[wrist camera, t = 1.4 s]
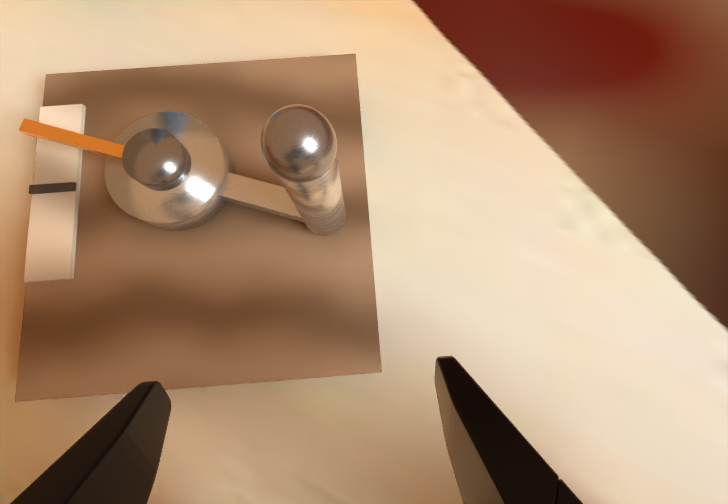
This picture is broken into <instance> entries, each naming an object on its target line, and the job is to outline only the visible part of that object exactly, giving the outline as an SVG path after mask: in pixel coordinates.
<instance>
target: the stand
mask: <svg viewBox="0 0 728 504" xmlns="http://www.w3.org/2000/svg"><path fill="white" fill-rule="evenodd" d="M294 104H300V105H307V106H310V107H312V108H314V109H316V110H318V111H319V112H321V113H322V114H323V115H324V116H325V117H326V118H327V119H328V120H329V122H330V123H331V125H332V127H333V129H334V131H335V134H336V138H337V153H336V156H337V162H338V168H339V175H340V181H341V187H342V193H343V200H344V206H345V212H346V219H345V222H344V225H343V226H342V228H341V229H340V230H339V231H338V232H336V233H335V234H333V235H329V236H320V235H316V234H314V233H313V232H311V231H310V230H309V229H308V228H307V226H306V224H305V223H304V222H301V221H297V220H293V219H290V218H286V217H282V216H279V215H275V214H271V213H268V212H264V211H260V210H257V209H253V208H249V207H246V206H242V205H238V204H235V203H231V202H227V204H226V205H225V206H224V208H223V209H222V210H221V211H220V212H219V213H218V214H217V215H216V216H215V217H214V218H213V219H211V220H210V221H208V222H207V223H205V224H203V225H201V226H199V227H196V228H193V229H189V230H183V231H169V230H164V229H160V228H157V227H155V226H153V225H150V224H148V223H146V222H144V221H142V220H140V219H138V218H135V217H133V216H131V215H130V214H128V213H126V212H125V211H123V210H122V209H121V208H120V207H119V206H118V205H117V204H116V203H115V202H114V200H113V199H112V197H111V195H110V194H109V192H108V189H107V186H106V182H105V172H104V171H105V162H106V158H107V156H104V155H101V154H97V153H93V152H90V151H86V150H82V149H78V148H75V147H71V146H67V145H64V144H60V143H56V142H53V141H49V140H45V139H42V138H38V137H37V146H36V156H35V166H34V177H33V185H30V186H29V193H30V194H32V197H31V208H30V218H29V229H28V239H27V249H26V260H25V270H24V280H23V282H26V291H25V301H24V312H23V322H22V333H21V343H20V354H19V364H18V375H17V385H16V396H15V402H18V401H30V400H42V399H55V398H67V397H80V396H92V395H105V394H117V393H129V392H130V391H131V390H133V389H134V388H135V387H136V386H137V385H138V384H140V383H142V382H148V381H158V382H160V383H161V385H162V386H163V388H164V390H167V389H179V388H192V387H204V386H217V385H229V384H242V383H254V382H267V381H279V380H292V379H304V378H316V377H329V376H341V375H354V374H366V373H379V372H382V370H381V358H380V346H379V333H378V321H377V309H376V297H375V285H374V273H373V260H372V248H371V236H370V224H369V212H368V200H367V187H366V175H365V163H364V151H363V139H362V127H361V114H360V102H359V90H358V78H357V66H356V54H345V55H330V56H315V57H300V58H285V59H270V60H255V61H240V62H225V63H210V64H195V65H180V66H165V67H150V68H135V69H120V70H105V71H90V72H75V73H60V74H46V80H45V91H44V101H43V107H40V115H39V123H43V124H46V125H50V126H54V127H58V128H61V129H65V130H69V131H73V132H76V133H80V134H84V135H87V136H91V137H95V138H99V139H102V140H106V141H110V142H114V141H115V139H116V138H117V137H118V135H119V134H120V133H121V132H122V131H123V130H124V129H125V128H126V127H127V126H129V125H130V124H132V123H133V122H135V121H136V120H138V119H140V118H142V117H145V116H147V115H150V114H154V113H158V112H169V111H171V112H180V113H185V114H188V115H191V116H193V117H195V118H198V119H199V120H201V121H202V122H204V123H205V124H206V125H207V126H208V127H209V128H210V129H211V130H212V131H213V132H214V134H215V135H216V136H217V138H218V139H219V140H220V141H221V143H222V144H223V145H224V147H225V148H226V149H227V151H228V152H229V154H230V156H231V158H232V160H233V164H234V169H235V174H237V175H240V176H244V177H248V178H252V179H255V180H259V181H263V182H266V183H270V184H274V185H278V186H281V187H283V185H282V183H281V181H280V180H279V178H278V176H277V175H276V174H275V173H274V172H273V171H272V170H271V169H270V167H269V166H268V165H267V163H266V161H265V159H264V157H263V154H262V151H261V133H262V129H263V127H264V125H265V123H266V121H267V119H268V118H269V117H270V116H271V115H272V114H273V113H274V112H275V111H277V110H278V109H280V108H282V107H285V106H288V105H294Z"/></svg>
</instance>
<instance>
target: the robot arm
mask: <svg viewBox="0 0 728 504" xmlns="http://www.w3.org/2000/svg"><path fill="white" fill-rule="evenodd" d="M435 387H436V392H437V398H438V403H439V409H440V414H441V420H442V425H443V431H444V436H445V441H446V445H447V449H448V453H449V457H450V460H451V463H452V467H453V470H454V473H455V477H456V480H457V483H458V487H459V490H460V493H461V497H462V500H463V503H464V504H583V503H582V502H581V501H580V500H579V499H578V498H577V496H576V495H575V494H574V493H573V492H572V491H571V490H570V488H569V487H568V486H567V485H566V484H565V483H564V482H563V480H561V479H559V477H558V475H557V474H556V473H555V472H554V470H553V469H552V468H551V467H550V466H549V465H548V464H547V462H546V461H545V460H544V459H543V458H542V457H541V456H540V454H539V453H538V452H537V451H536V450H535V449H534V448H533V446H532V445H531V444H530V443H529V442H528V441H527V440H526V438H525V437H524V436H523V435H522V434H521V433H520V432H519V431H518V429H517V428H516V427H515V426H514V425H513V424H512V423H511V421H510V420H509V419H508V418H507V417H506V416H505V415H504V413H503V412H502V411H501V410H500V409H499V408H498V407H497V405H496V404H495V403H494V402H493V401H492V400H491V399H490V397H489V396H488V395H487V394H486V393H485V392H484V391H483V389H482V388H481V387H480V386H479V385H478V384H477V383H476V382H475V380H474V379H473V378H472V377H471V376H470V375H469V374H468V372H467V371H466V370H465V369H464V368H463V367H462V366H461V364H460V363H459V362H458V361H457V360H456V359H455V358H454V357H453V356H441V357H437V359H436V367H435ZM170 411H171V401H170V398H169V397H168V395H167V393H166V392H165V390H164V388H163V386H162V385H161V383H160V382H158V381H148V382H142V383H140V384H138V385H137V386H136V387H135V388H134V389H133V390H131V391H130V392H129V393H128V394H127V395H126V396H125V397H124V398H123V399H122V400H121V401H120V402H119V403H118V404H116V405H115V406H114V407H113V408H112V409H111V410H110V411H109V412H108V413H107V414H106V415H105V416H104V417H103V418H101V419H100V420H99V421H98V422H97V423H96V424H95V425H94V426H93V427H92V428H91V429H90V430H89V431H88V432H86V433H85V434H84V435H83V436H82V437H81V438H80V439H79V440H78V441H77V442H76V443H75V444H74V445H73V446H71V447H70V448H69V449H68V450H67V451H66V452H65V453H64V454H63V455H62V456H61V457H60V458H59V459H58V460H56V461H55V462H54V463H53V464H52V465H51V466H50V467H49V468H48V469H47V470H46V471H45V472H44V473H43V474H41V475H40V476H39V477H38V478H37V479H36V480H35V481H34V482H33V483H32V484H31V485H30V486H29V487H28V488H26V489H25V490H24V491H23V492H22V493H21V494H20V495H19V496H18V497H17V498H16V499H15V500H14V501H13V502H11V503H10V504H147V502H148V499H149V496H150V492H151V489H152V486H153V483H154V480H155V477H156V473H157V470H158V466H159V462H160V457H161V453H162V448H163V443H164V439H165V434H166V430H167V425H168V421H169V416H170ZM558 479H559V480H558Z"/></svg>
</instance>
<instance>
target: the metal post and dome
mask: <svg viewBox="0 0 728 504" xmlns="http://www.w3.org/2000/svg"><path fill="white" fill-rule="evenodd" d="M19 130H20V131H22V132H23V133H25V134H27V135H30V136H34V137H38V138H42V139H45V140H49V141H53V142H56V143H60V144H64V145H67V146H71V147H75V148H78V149H82V150H86V151H90V152H93V153H97V154H101V155H104V156H107V158H106V162H105V171H104V172H105V182H106V186H107V189H108V192H109V194H110V195H111V197H112V199H113V200H114V202H115V203H116V204H117V205H118V206H119V207H120V208H121V209H122V210H123V211H125V212H126V213H128V214H130V215H131V216H133V217H135V218H138V219H140V220H142V221H144V222H146V223H148V224H150V225H153V226H155V227H157V228H160V229H164V230H169V231H183V230H189V229H193V228H196V227H199V226H201V225H203V224H205V223H207V222H208V221H210V220H211V219H213V218H214V217H215V216H216V215H217V214H218V213H219V212H220V211H221V210H222V209H223V208H224V206H225V205H226V204H227V202H231V203H235V204H238V205H242V206H246V207H249V208H253V209H257V210H260V211H264V212H268V213H271V214H275V215H279V216H282V217H286V218H290V219H293V220H297V221H301V222H304V223H305V224H306V226H307V228H308V229H309V230H310V231H311V232H313V233H314V234H316V235H320V236H329V235H333V234H335V233H336V232H338V231H339V230H340V229H341V228H342V226H343V225H344V222H345V219H346V212H345V206H344V200H343V193H342V187H341V181H340V175H339V168H338V162H337V156H336V153H337V138H336V134H335V131H334V129H333V127H332V125H331V123H330V122H329V120H328V119H327V118H326V117H325V116H324V115H323V114H322V113H321V112H319V111H318V110H316V109H314V108H312V107H310V106H307V105H300V104H294V105H288V106H285V107H282V108H280V109H278V110H277V111H275V112H274V113H273V114H272V115H271V116H270V117H269V118H268V119H267V121H266V123H265V125H264V127H263V129H262V133H261V151H262V154H263V157H264V159H265V161H266V163H267V165H268V166H269V167H270V169H271V170H272V171H273V172H274V173H275V174H276V175H277V176H278V178H279V180H280V181H281V183H282V185H283V187H281V186H278V185H274V184H270V183H266V182H263V181H259V180H255V179H252V178H248V177H244V176H240V175H237V174H235V169H234V164H233V160H232V158H231V156H230V154H229V152H228V151H227V149H226V148H225V147H224V145H223V144H222V143H221V141H220V140H219V139H218V138H217V136H216V135H215V134H214V132H213V131H212V130H211V129H210V128H209V127H208V126H207V125H206V124H205V123H204V122H202V121H201V120H199V119H198V118H195V117H193V116H191V115H188V114H185V113H180V112H171V111H169V112H158V113H154V114H150V115H147V116H145V117H142V118H140V119H138V120H136V121H135V122H133V123H132V124H130V125H129V126H127V127H126V128H125V129H124V130H123V131H122V132H121V133H120V134H119V135H118V137H117V138H116V139H115V141H114V142H110V141H106V140H102V139H99V138H95V137H91V136H87V135H84V134H80V133H76V132H73V131H69V130H65V129H61V128H58V127H54V126H50V125H46V124H43V123H39V122H35V121H32V120H28V119H24V120H23V122H22V124H21V126H20V128H19Z"/></svg>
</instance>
